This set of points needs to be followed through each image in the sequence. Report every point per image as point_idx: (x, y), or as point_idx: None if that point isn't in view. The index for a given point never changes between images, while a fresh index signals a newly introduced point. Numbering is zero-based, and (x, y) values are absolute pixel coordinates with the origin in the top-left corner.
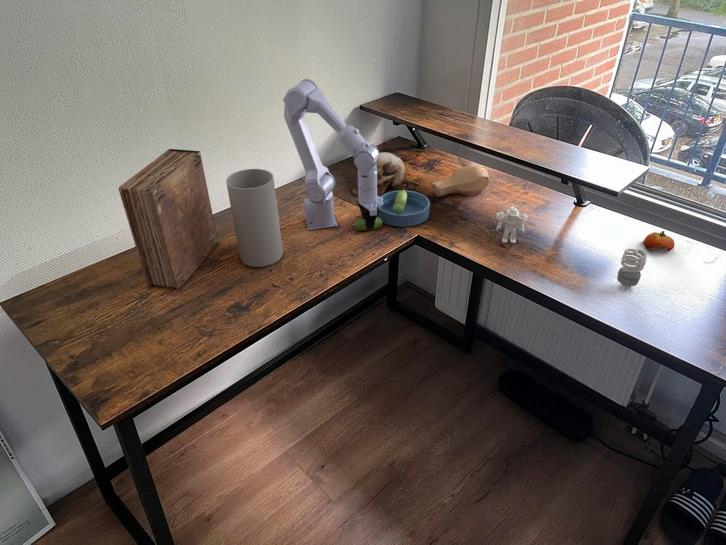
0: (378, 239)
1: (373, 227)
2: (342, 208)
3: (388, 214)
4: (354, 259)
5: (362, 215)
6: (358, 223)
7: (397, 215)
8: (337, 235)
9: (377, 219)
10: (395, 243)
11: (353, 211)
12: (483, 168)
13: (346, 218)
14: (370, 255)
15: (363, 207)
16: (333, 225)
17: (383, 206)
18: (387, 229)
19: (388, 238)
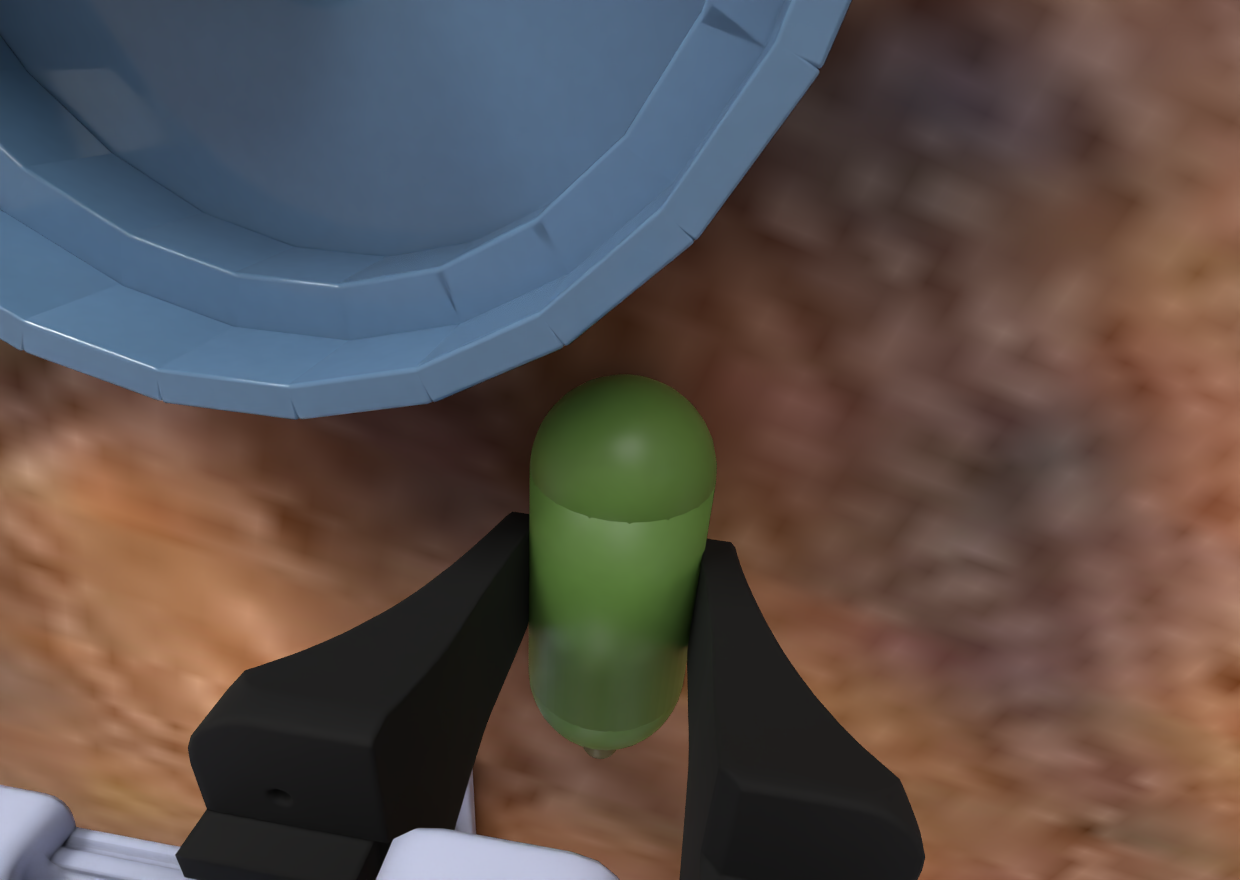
0: (941, 512)
1: (735, 551)
2: (84, 595)
3: (606, 312)
4: (1173, 841)
5: (498, 691)
6: (641, 739)
7: (771, 138)
8: (638, 799)
9: (653, 517)
10: (1215, 341)
11: (153, 523)
12: None
13: (313, 634)
14: (1232, 712)
15: (443, 806)
16: (465, 794)
17: (53, 136)
18: (737, 297)
19: (1001, 383)
